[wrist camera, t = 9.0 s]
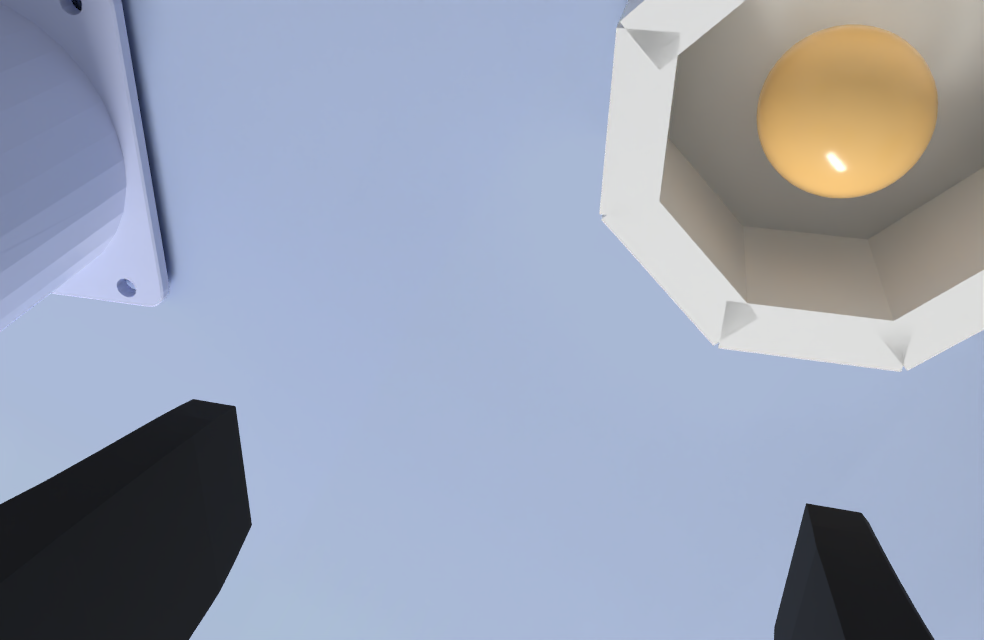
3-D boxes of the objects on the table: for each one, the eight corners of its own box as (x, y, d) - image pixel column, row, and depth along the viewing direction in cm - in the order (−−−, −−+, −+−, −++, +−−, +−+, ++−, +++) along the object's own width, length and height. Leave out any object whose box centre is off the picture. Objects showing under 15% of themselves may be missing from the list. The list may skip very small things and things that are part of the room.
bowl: (610, 242, 21) (588, 331, 18) (649, -157, 17) (631, -141, 14) (989, 285, 20) (1045, 390, 16) (1131, -137, 16) (1245, -114, 12)
